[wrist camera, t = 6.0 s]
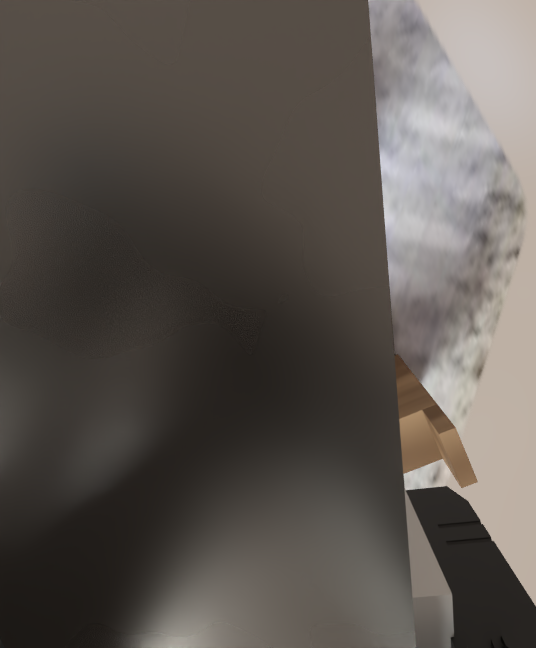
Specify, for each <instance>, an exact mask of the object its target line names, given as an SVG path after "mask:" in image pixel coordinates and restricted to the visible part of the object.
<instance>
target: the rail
mask: <svg viewBox="0 0 536 648" xmlns="http://www.w3.org/2000/svg"><path fill="white" fill-rule="evenodd" d="M0 636H1V640H2V643H3V646H4V648H416V638H415V624H414V611H413V597H412V584H411V570H410V557H409V544H408V530H407V517H406V503H405V490H404V476H403V463H402V450H401V436H400V423H399V409H398V396H397V383H396V369H395V356H394V342H393V329H392V315H391V302H390V289H389V275H388V262H387V248H386V235H385V221H384V208H383V195H382V181H381V168H380V154H379V141H378V128H377V114H376V101H375V87H374V74H373V60H372V47H371V34H370V20H369V7H368V0H0Z"/></svg>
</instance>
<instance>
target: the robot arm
mask: <svg viewBox="0 0 536 648" xmlns="http://www.w3.org/2000/svg"><path fill="white" fill-rule="evenodd" d="M404 490H405V488H404ZM405 503H406V517H407V530H408V544H409V557H410V570H411V584H412V597H413V611H414V624H415V638H416V648H536V606H535V605H534V603H533V602H532V600H531V598H530V597H529V595H528V594H527V592H526V591H525V589H524V588H523V586H522V585H521V583H520V581H519V580H518V578H517V577H516V575H515V574H514V572H513V571H512V569H511V568H510V566H509V564H508V563H507V561H506V560H505V558H504V556H503V555H502V553H501V552H500V550H499V549H498V547H497V546H496V544H495V543H494V541H492V540H491V537H490V535H489V533H488V532H487V530H486V528H485V527H484V525H483V524H481V522H480V519H479V518H478V516H477V514H476V513H475V512H474V510H473V508H472V507H471V505H470V504H469V502H468V501H467V500H466V499H464V498H463V497H461V496H460V495H458V494H457V493H456V492H454V491H453V490H451V489H450V488H448V487H447V486H445V487H435V488H425V489H415V490H405ZM0 648H4V646H3V643H2V640H1V636H0Z"/></svg>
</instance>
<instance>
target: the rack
mask: <svg viewBox="0 0 536 648" xmlns="http://www.w3.org/2000/svg"><path fill="white" fill-rule="evenodd" d="M395 369H396V383H397V396H398V409H399V423H400V436H401V450H402V463H403V474H404V473H407V472H409V471H412V470H415V469H417V468H420V467H422V466H425V465H428V464H430V463H433V462H435V461H438V460H440V459H443V460H444V461H445V463H446V464H447V466H448V468H449V469H450V471H451V472H452V474H453V475H454V477H455V479H456V480H457V482H458V483H459V485H460V486H461V488H463V487H466V486H468V485H471V484H473V483H476V482H477V479H476V476H475V474H474V471H473V469H472V467H471V464H470V462H469V459H468V457H467V454H466V452H465V450H464V447H463V445H462V442H461V440H460V437H459V435H458V432H457V430H456V428H455V426H454V425H453V424H452V423H451V421H450V420H449V419H448V417H447V416H446V415H445V414H444V412H443V411H442V410H441V409H440V407H439V406H438V405H437V403H436V402H435V401H434V400H433V398H432V397H431V396H430V395H429V393H428V392H427V391H426V389H425V388H424V387H423V386H422V384H421V383H420V382H419V381H418V379H417V378H416V377H415V375H414V374H413V373H412V372H411V370H410V369H409V368H408V367H407V365H406V364H405V363H404V361H403V360H402V359H401V358H400V356H399V355H398V354H397V355H395Z"/></svg>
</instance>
